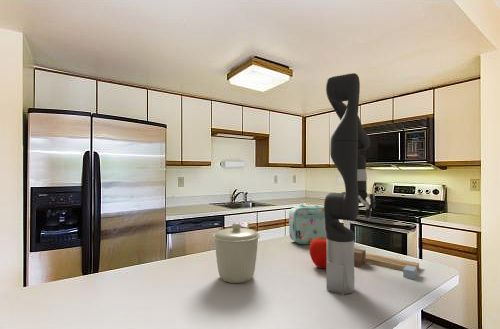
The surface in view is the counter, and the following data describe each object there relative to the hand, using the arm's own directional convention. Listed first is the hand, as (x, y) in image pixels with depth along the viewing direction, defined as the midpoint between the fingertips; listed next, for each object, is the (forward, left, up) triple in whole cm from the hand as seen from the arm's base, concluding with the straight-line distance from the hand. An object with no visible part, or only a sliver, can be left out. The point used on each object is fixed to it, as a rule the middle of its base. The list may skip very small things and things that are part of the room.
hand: (357, 216), depth 120 cm
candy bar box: (-29, +42, -21) cm, 55 cm away
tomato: (-14, +10, -21) cm, 27 cm away
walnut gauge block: (0, 0, -21) cm, 21 cm away
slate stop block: (0, -20, -21) cm, 29 cm away
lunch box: (+19, +33, -21) cm, 44 cm away
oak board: (+8, -8, -21) cm, 24 cm away
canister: (-46, +30, -21) cm, 58 cm away
